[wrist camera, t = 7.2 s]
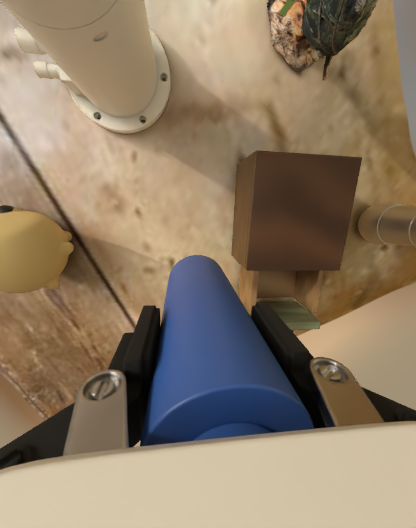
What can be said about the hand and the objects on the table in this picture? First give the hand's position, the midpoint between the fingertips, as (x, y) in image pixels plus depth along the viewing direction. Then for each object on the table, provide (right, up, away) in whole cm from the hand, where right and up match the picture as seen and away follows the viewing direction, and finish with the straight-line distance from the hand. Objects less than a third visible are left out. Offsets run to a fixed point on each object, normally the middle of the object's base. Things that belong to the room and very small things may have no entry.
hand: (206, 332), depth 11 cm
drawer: (+10, 0, +26) cm, 27 cm away
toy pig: (-24, +7, +21) cm, 32 cm away
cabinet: (+10, +11, +23) cm, 28 cm away
